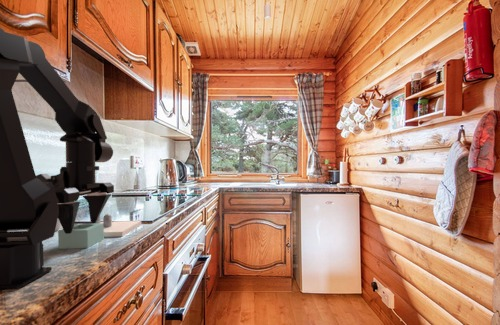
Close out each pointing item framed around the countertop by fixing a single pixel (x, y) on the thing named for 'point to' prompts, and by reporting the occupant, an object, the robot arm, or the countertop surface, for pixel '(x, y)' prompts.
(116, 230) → the base plate
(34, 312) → the countertop surface
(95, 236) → the block with square hole
